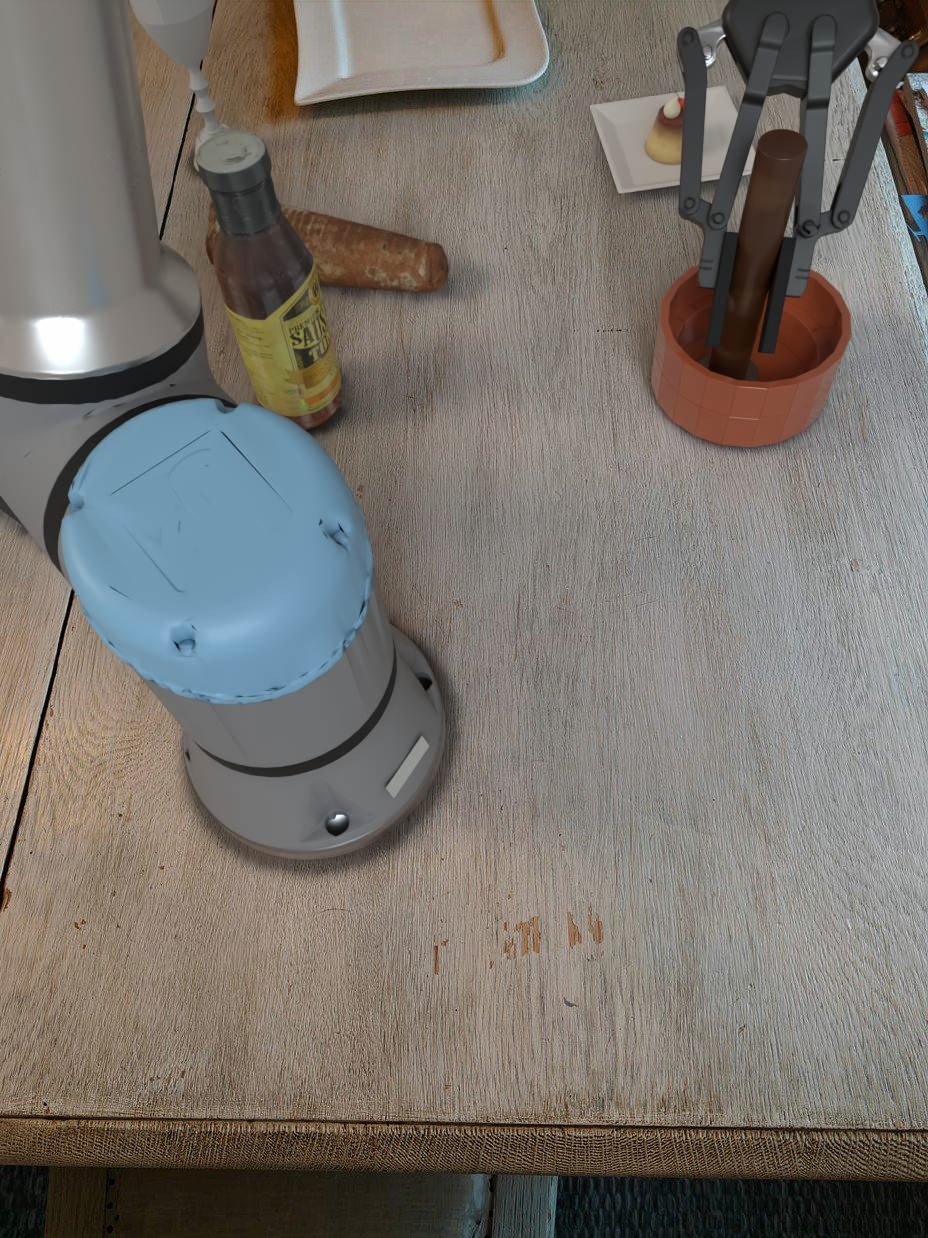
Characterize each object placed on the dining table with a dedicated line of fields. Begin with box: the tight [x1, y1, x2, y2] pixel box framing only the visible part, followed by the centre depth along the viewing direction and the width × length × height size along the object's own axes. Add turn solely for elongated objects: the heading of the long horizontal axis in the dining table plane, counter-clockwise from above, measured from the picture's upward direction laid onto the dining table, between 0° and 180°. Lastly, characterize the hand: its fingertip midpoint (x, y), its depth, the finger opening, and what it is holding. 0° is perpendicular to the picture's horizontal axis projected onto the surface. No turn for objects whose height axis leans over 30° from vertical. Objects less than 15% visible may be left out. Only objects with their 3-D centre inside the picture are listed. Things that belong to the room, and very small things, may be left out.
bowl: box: [650, 263, 852, 448], centre depth 65 cm, size 12×12×6 cm
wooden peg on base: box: [697, 128, 808, 381], centre depth 59 cm, size 4×4×18 cm
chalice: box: [128, 0, 235, 172], centre depth 77 cm, size 7×7×18 cm
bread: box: [204, 200, 450, 293], centre depth 74 cm, size 6×19×6 cm, turn 74°
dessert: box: [589, 84, 756, 195], centre depth 79 cm, size 12×12×5 cm
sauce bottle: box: [196, 129, 343, 431], centre depth 62 cm, size 7×6×20 cm
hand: (738, 349), depth 59 cm, fingers closed on wooden peg on base, 3 cm apart
